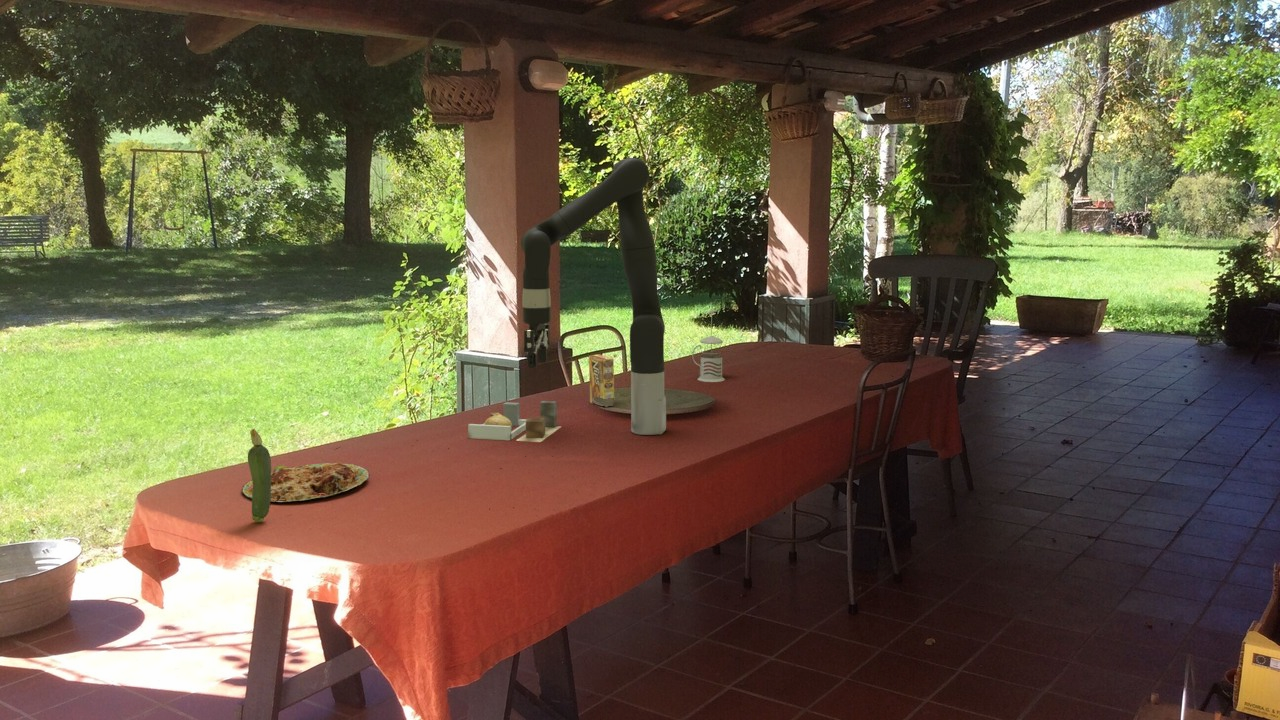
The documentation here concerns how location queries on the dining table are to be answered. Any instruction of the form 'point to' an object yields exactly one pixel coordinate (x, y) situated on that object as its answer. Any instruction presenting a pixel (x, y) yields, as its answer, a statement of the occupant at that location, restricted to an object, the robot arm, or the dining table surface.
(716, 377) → the french press
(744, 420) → the dining table surface
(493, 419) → the onion
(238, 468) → the dining table surface
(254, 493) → the vegetable
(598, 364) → the candy box
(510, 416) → the grey rectangular frame
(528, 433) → the walnut cube
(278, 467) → the rice dish
